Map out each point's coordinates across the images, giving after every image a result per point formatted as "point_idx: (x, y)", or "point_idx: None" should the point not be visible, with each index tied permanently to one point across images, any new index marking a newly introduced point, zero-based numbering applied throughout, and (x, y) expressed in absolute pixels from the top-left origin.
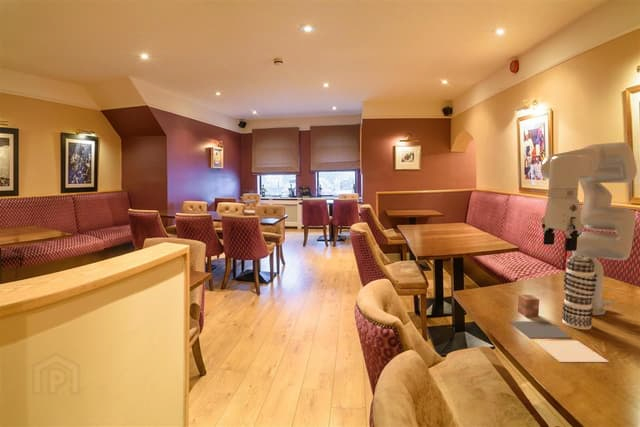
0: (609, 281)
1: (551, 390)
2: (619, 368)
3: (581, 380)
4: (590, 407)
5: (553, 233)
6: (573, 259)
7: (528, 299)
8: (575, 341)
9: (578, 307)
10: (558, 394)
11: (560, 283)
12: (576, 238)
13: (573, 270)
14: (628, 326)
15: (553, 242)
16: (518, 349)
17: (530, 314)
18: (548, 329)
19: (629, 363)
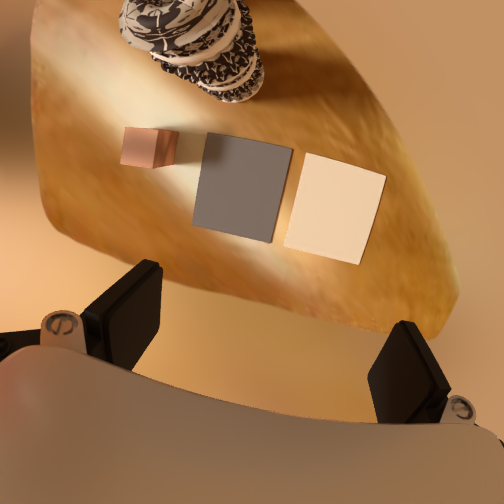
0: None
1: None
2: (403, 180)
3: (402, 276)
4: (432, 314)
5: (110, 331)
6: (160, 32)
7: (153, 161)
8: (309, 160)
9: (245, 80)
10: None
11: None
12: (445, 391)
13: (190, 53)
14: None
15: (156, 277)
16: (301, 297)
17: (172, 152)
18: (246, 168)
19: (397, 143)
